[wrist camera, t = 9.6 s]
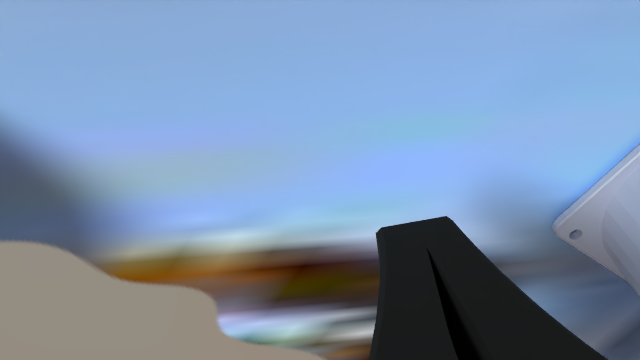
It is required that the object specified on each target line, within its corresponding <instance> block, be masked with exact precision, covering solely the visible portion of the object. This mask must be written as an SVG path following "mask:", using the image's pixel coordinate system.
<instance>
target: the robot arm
mask: <svg viewBox="0 0 640 360" xmlns="http://www.w3.org/2000/svg"><path fill="white" fill-rule="evenodd" d="M552 229H553V231H554V232H555V234H556V235H557V236H558V237H559V238H561V239H562V240H564V241H565V242H567V243H568V244H570V245H571V246H573V247H574V248H576V249H578V250H579V251H581V252H582V253H584V254H585V255H587V256H588V257H590V258H592V259H593V260H595V261H596V262H598V263H599V264H601V265H602V266H604V267H606V268H607V269H609V270H610V271H612V272H613V273H615V274H616V275H618V276H620V277H621V278H623V279H624V280H626V281H627V282H628V283H629V284H630V285H631V287H632V288H633V289H634V291H635V292H636V293H637V295H638V296H639V297H640V144H639V145H638V146H637V147H636V148H635V149H634V150H633V151H632V152H630V153H629V154H628V155H627V156H626V157H625V158H624V159H623V160H622V161H620V162H619V163H618V164H617V165H616V166H615V167H614V168H613V169H611V170H610V171H609V172H608V173H607V174H606V175H605V176H604V177H603V178H601V179H600V180H599V181H598V182H597V183H596V184H595V185H594V186H592V187H591V188H590V189H589V190H588V191H587V192H586V193H585V194H584V195H582V196H581V197H580V198H579V199H578V200H577V201H576V202H575V203H573V204H572V205H571V206H570V207H569V208H568V209H567V210H566V211H565V212H563V213H562V214H561V215H560V216H559V217H558V218H557V219H556V220H555V221H554V222H553V225H552ZM574 230H576V231H575V232H574V233H571V232H572V231H574ZM376 239H377V246H378V254H379V262H380V285H379V296H378V307H377V316H376V323H375V329H374V334H373V340H372V346H371V352H370V357H369V360H608V359H607V358H605V357H604V356H602V355H601V354H600V353H598V352H597V351H595V350H594V349H593V348H591V347H590V346H589V345H587V344H586V343H585V342H583V341H582V340H581V339H579V338H578V337H577V336H575V335H574V334H573V333H572V332H570V331H569V330H568V329H566V328H565V327H564V326H563V325H561V324H560V323H559V322H558V321H557V320H555V319H554V318H553V317H552V316H551V315H549V314H548V313H547V312H546V311H544V310H543V309H542V308H541V307H540V306H539V305H537V304H536V303H535V302H534V301H533V300H532V299H531V298H529V297H528V296H527V295H526V294H525V293H524V292H523V291H522V290H521V289H519V288H518V287H517V286H516V285H515V284H514V283H513V282H512V281H511V280H510V279H509V278H508V277H506V276H505V275H504V274H503V273H502V272H501V271H500V270H499V269H498V268H497V267H496V266H495V265H494V264H493V263H492V262H491V261H490V260H489V259H488V258H487V257H486V256H485V255H484V254H483V253H482V252H481V251H480V250H479V249H478V248H477V247H476V246H475V245H474V244H473V243H472V242H471V241H470V239H469V238H468V237H467V236H466V235H465V234H464V233H463V232H462V231H461V230H460V228H459V227H458V226H457V225H456V224H455V223H454V222H453V220H451V219H450V218H448V217H447V216H444V217H439V218H433V219H427V220H422V221H416V222H410V223H405V224H399V225H393V226H388V227H382V228H381V229H380V230H379V231H378V232H377V233H376Z"/></svg>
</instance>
